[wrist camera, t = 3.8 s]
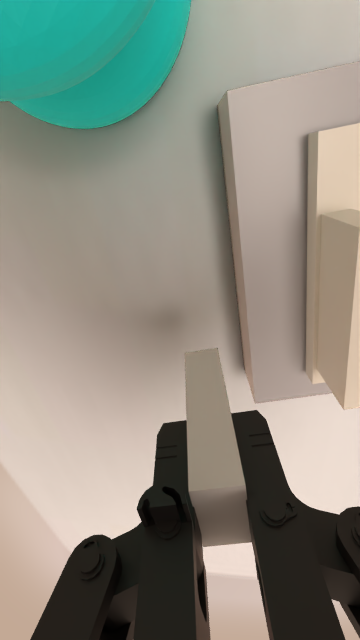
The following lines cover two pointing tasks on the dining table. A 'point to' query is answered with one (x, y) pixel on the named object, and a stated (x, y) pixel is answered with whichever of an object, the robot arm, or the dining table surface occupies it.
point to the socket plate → (277, 215)
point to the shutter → (334, 262)
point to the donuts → (87, 56)
